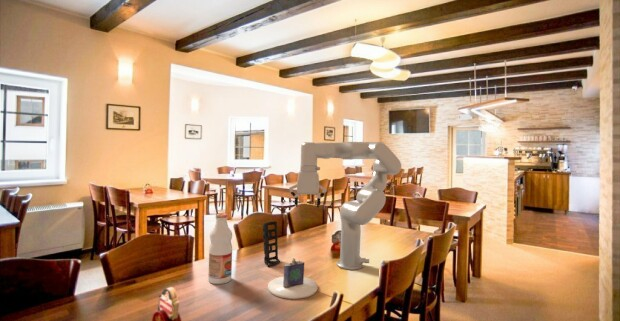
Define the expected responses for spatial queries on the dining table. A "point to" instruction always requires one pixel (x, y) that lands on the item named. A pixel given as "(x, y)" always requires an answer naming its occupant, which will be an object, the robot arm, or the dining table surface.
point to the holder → (266, 244)
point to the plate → (292, 288)
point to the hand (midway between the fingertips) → (307, 206)
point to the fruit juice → (220, 251)
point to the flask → (293, 274)
